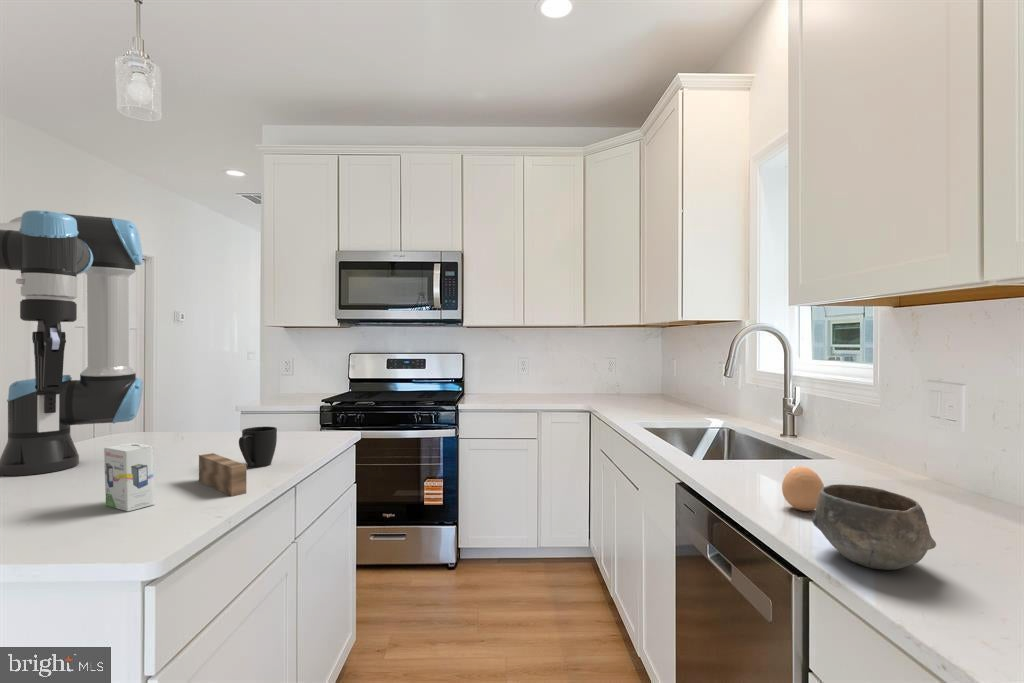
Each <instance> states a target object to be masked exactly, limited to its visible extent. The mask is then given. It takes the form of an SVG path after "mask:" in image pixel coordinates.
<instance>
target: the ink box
mask: <svg viewBox="0 0 1024 683" xmlns="http://www.w3.org/2000/svg"><path fill="white" fill-rule="evenodd" d="M153 449H154V448H153V447H152V446H151V445H148V444H142V443H137V442H126V443H122V444H117V445H112V446H106V447H104V448H103V453H104V454H103V455H104V456H103V457H104V461H103V462H104V486H105V488H104V490H105V492H104V493H105V507H106V506H107V507H109V508H114V509H117V510H122V511H125V512H130V511H135V510H139V509H143V508H147V507H151V506H154V505H155V503H156V502H155V499H156V498H155V476H154V475H155V474H154V473H155V472H154V452H153V451H154V450H153Z"/></svg>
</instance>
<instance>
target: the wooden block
mask: <svg viewBox="0 0 1024 683" xmlns="http://www.w3.org/2000/svg"><path fill="white" fill-rule="evenodd" d="M247 467H248V466H247V464H246V463H245V464H244V463H242V462H239V461H236V460H234V459H230V458H228V457H225V456H221V455H219V454H217V453H214V452H212V453H206V454H199V455H198V482H200V483H202V484H204V485H207V486H208V487H211V488H213V489H215V490H217V491H219V492H221V493H223V494H226V495H228V496H230V497H234V496H239V495H240V496H241V495H244V494H247Z"/></svg>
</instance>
